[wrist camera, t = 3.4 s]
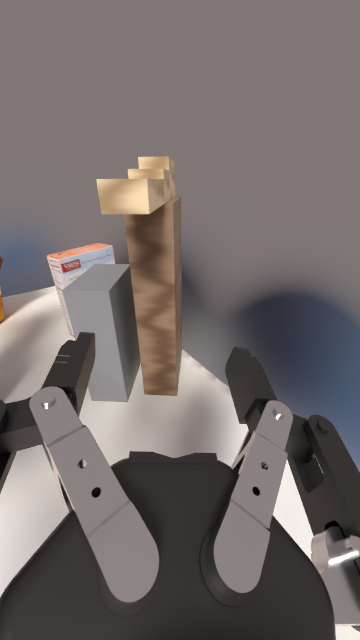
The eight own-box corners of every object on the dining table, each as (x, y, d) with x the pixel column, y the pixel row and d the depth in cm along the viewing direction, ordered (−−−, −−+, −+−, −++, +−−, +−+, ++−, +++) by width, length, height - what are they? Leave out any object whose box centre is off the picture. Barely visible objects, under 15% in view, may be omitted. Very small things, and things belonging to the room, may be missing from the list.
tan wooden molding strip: (101, 214, 20) (90, 139, 18) (151, 196, 41) (149, 161, 38) (149, 213, 20) (144, 138, 17) (174, 196, 40) (174, 160, 38)
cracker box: (111, 313, 72) (98, 241, 62) (124, 319, 69) (114, 244, 59) (68, 334, 62) (44, 253, 52) (81, 342, 59) (60, 258, 49)
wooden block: (144, 394, 45) (122, 203, 29) (156, 348, 57) (145, 196, 41) (176, 395, 44) (173, 203, 28) (181, 349, 56) (180, 196, 40)
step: (92, 400, 44) (61, 290, 33) (112, 358, 54) (94, 263, 43) (127, 402, 43) (108, 291, 32) (141, 359, 54) (130, 264, 43)
